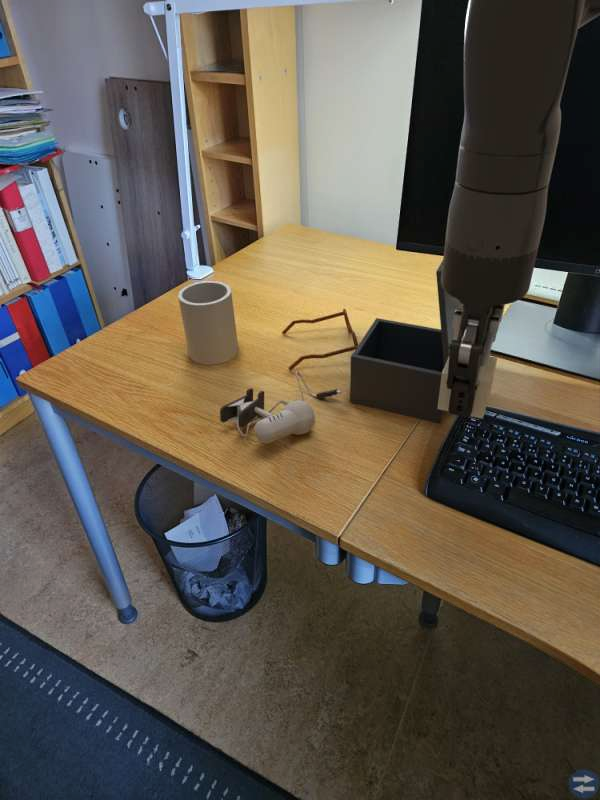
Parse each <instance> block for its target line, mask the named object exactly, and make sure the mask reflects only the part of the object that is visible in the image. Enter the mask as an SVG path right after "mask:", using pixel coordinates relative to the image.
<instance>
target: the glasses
mask: <svg viewBox="0 0 600 800" xmlns="http://www.w3.org/2000/svg"><path fill="white" fill-rule="evenodd" d="M342 316H343V319H344V322H345V326H346V329H347V333H348V335H351V338H352V342H353V345H352V346H348V347H344V348H341V349H337V350H333V351H329V352H327V353H322V354H307V355H301V356H300V357H298V359H296V360H295V361H294V362H293V363H292V364H291V365H290V366H288V367H287V368H288V370H289V371H292V370H294V368H295V367H297V366H298V365H299V364H300V363H302V362H303V361H304V360H309V359H326V358H330V357H333V356H337V355H341V354H345V353H349V352H353V351H355V349H356V348H357V346H358V345H359V342H358V338H357V335H356V332H355V331H354V330H353V328H352V325H351V322H350V318H349V316H348V313H347V310H346V308H343V309H342V311H340V312H335V313H332V314H329V315H325V316H321V317H316V318H313V319H297V320H292V321H291V322H290V324H288V325H287V326H286V327H285V328H284V329H283V330H282V331H281V334H283V335H286V334H287V333H288V331H289V330H290V329H291V328H293V327H294V326H295V325H296V324H316V323H319V322H323V321H327V320H330V319H334V318H339V317H342Z"/></svg>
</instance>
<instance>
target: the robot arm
mask: <svg viewBox="0 0 600 800" xmlns="http://www.w3.org/2000/svg"><path fill="white" fill-rule="evenodd" d="M599 16H600V0H468V1H467V7H466V15H465V23H464V40H463V43H464V44H463V102H464V103H463V104H464V117H463V124H462V129H461V134H460V142H459V148H458V157H457V164H456V165H457V166H456V173H455V182H454V188H453V192H452V195H451V199H450V203H449V208H448V215H447V223H446V231H445V240H444V248H443V257H442V261H443V265H442V274H441V285H442V287H443V289H444V290H445V291H446V292H447V293H448V294H449V295H450V296H452V297H454V298H456V299H458V300H459V301H460V304H459V310H456V311H455V314H454V319H453V324H452V328H453V330H454V334H453V340H452V343H450V345H449V349H450V355H449V367H448V379H447V382H446V384H447V389H451V395H450V401H449V408H448V411H447V412H448V413H449V414H451V415H454V416H458V417H462V418H469V417H472V416H471V413H472V409H473V404H474V398H475V393H476V390H477V387H478V385H479V384H480V380H479V377H480V372H481V367H482V366H485V365H486V364H487V363H488V360H489V357H490V356H491V351H492V348H493V343H494V342H496V338H497V335H498V331H499V328H500V324H501V322H502V319H503V316H504V312H505V306H506V305H510V304H513V303H516V302H518V301H519V300H520V301H521V300H522V299H523V298H524V297H525V296H527V294H528V292H529V290H530V287H531V283H532V278H533V274H534V269H535V266H536V265H535V264H536V260H537V256H538V252H539V247H540V242H541V238H542V233H543V229H544V224H545V219H546V214H547V207H548V206H547V205H548V192H549V187H550V181H551V176H552V171H553V167H554V162H555V157H556V153H557V149H558V148H557V147H558V144H559V139H560V134H561V123H562V111H561V101H562V96H563V92H564V88H565V85H566V80H567V77H568V72H569V67H570V62H571V59H572V55H573V50H574V47H575V43H576V39H577V35H578V31H579V29H580V28H582V27H583V26H584V25H586V24H588V23H589V22H591V21H592V20H594V19H596V18H598V17H599Z"/></svg>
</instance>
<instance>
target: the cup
mask: <svg viewBox="0 0 600 800" xmlns="http://www.w3.org/2000/svg"><path fill="white" fill-rule="evenodd" d="M232 293H233V292H232V288H231V286H230V285H228V284H227V283H225V282H222V281H217V280H204V281H202V280H201V281H197V282H193V283H190V284H188V285H186V286H184V287H183V288H181V289H180V290H179V292H178V293H177V299H178V304H179V308H180V315H181V321H182V325H183V330H184V336H185V341H186V347H187V351H188V356H189V359H190V360H191V361H193V362H194V363H195V364H198V365H203V366H215V365H216V366H217V365H221V364H224V363H227V362H229V361H231V360H232V359H234V358H235V357H236V356H237V355H238V353H239V343H238V334H237V325H236V317H235V308H234V302H233V295H232Z"/></svg>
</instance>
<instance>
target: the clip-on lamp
mask: <svg viewBox="0 0 600 800" xmlns="http://www.w3.org/2000/svg"><path fill="white" fill-rule="evenodd" d="M295 377H296V381H297V384H298V388H299V391H300V396H301V400H300V399H298V400H292V401H290V402H289V401H286V400H282V399H281V400H278V401H277V402H276V403H275V404H274V405H273V406H272V407H271V408H270V409H269V410H268V411H266V410H265V390H260V391H259V392H258V393H257V398H256V399H254V388H250V387H249V388H247V390H246V393H245V394H246V395H244V396H241V397H239V398H237V399H235V400H233V401H230V402H229V403H227V404H224V405H223V406H221V407H220V410H219V421H220V422H221V423H227V422H230V421H231V422H232V421H236V428H237V430H238V432H239V434H240V435H241V436H242V437H243V438H246V437H247V436H248V432H249V427H250V426H253V425H254V428H253V432H254V436H255V438H256V439H257V440H258V441H259V442H260V443H262V444H269V443H272V442H275V441H277V440H279V439H282V438H284V437H287V436H288V435H289V436H290V435H295V436H296V435H297V436H299V435H304V434H305V435H306V434H307V433H308V432H310V431H311V430H312V429H313V427H314V425H315V422H316V416H315V412H314V410H313V408H312V406H311V405H310V404H309V403H308V402H307V401H305V400H304V394H303V390H302V387H301V384H300V380H301V382H302V384H303V385H304V387H305V389H306V391H307V392H308V393H309V395H310V396H312V397H314V398H316V399H321V398H323V399H325V398H328V397H330V398H332V397H333V396H337V395H338V394H342V393H343V391H342V390H339V389H337V388H336V389H331V390H326V391H321V392H320V391H319V392H318V393H313V392H312V390H311V389H310V388H309V386H308V384H307V383H306V381H305V379H304V377H303V375H302V374H301V373H300V371H299V370H296V371H295ZM299 377H300V380H299ZM280 404H282V405H285V406H284V408H283V409H282V410H281V411H278V412H276V413H274V414H272V412H273V411H274V410H275V408H277V407H278V406H279V405H280ZM256 417H258V418H257V419H256V420H254V419H255V418H256ZM253 420H254V421H253ZM246 426H247V427H246ZM244 427H246V432H245V434H244V433H243V432H242V430H241V429H240V428H242V429H243V428H244Z"/></svg>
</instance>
